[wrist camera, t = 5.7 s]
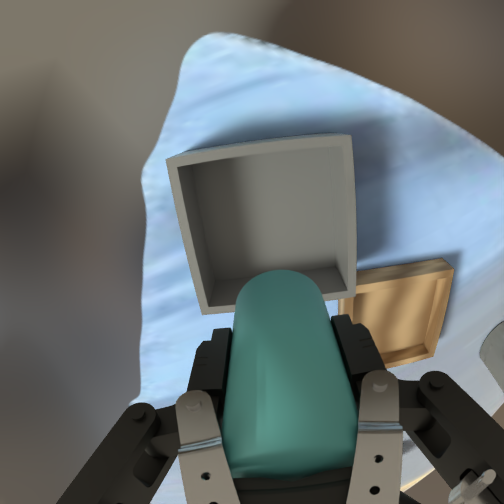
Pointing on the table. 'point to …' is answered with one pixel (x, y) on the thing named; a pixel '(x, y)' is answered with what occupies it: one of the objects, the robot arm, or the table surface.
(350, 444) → the peg
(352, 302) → the tray
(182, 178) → the deep bin
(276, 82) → the table surface
